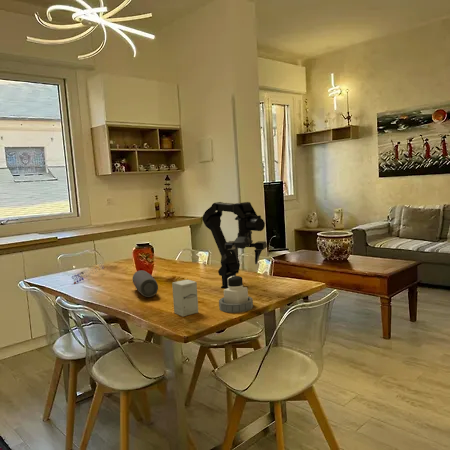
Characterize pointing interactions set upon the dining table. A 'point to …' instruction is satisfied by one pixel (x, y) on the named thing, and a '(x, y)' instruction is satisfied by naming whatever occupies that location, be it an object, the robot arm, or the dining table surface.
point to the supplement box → (185, 297)
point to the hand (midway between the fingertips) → (246, 263)
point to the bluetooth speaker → (145, 283)
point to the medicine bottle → (235, 291)
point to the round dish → (236, 306)
